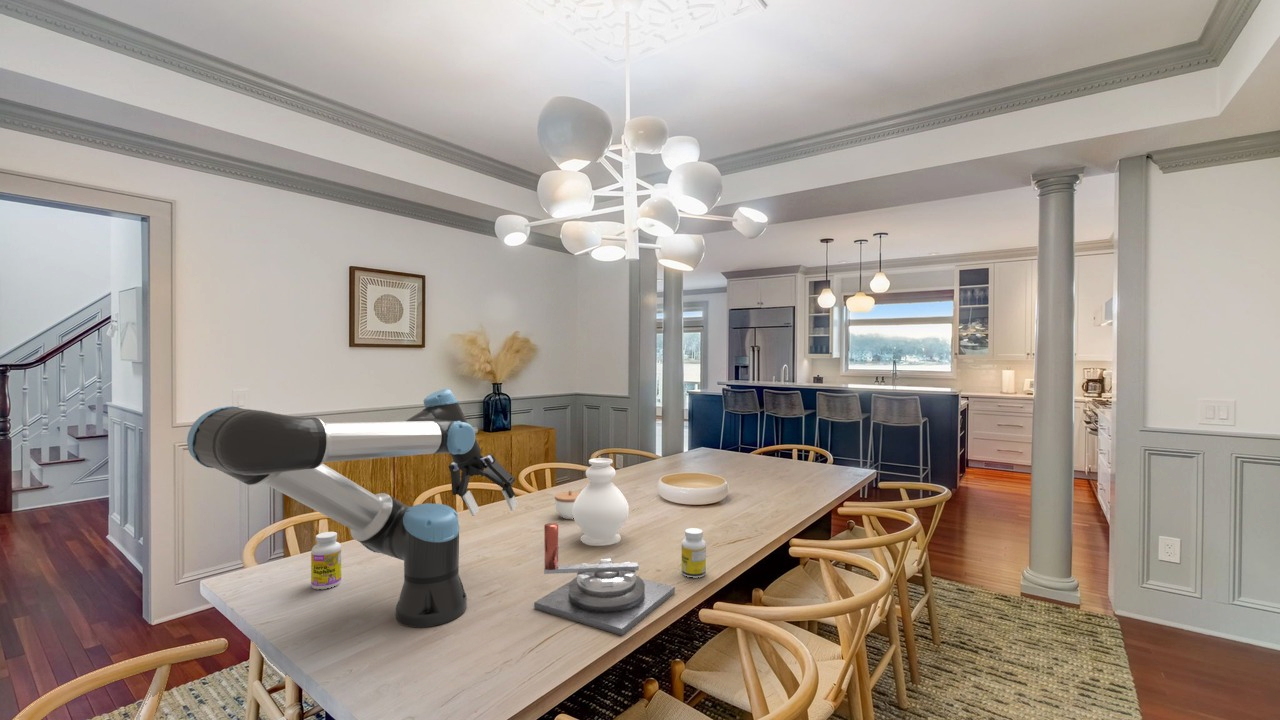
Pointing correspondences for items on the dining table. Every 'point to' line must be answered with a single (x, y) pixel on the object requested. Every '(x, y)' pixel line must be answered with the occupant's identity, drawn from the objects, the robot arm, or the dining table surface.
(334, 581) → the supplement bottle
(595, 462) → the decorative vase
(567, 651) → the dining table surface
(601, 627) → the grey crank base
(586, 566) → the red grip crank lever
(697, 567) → the pill bottle
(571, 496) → the lidded jar
